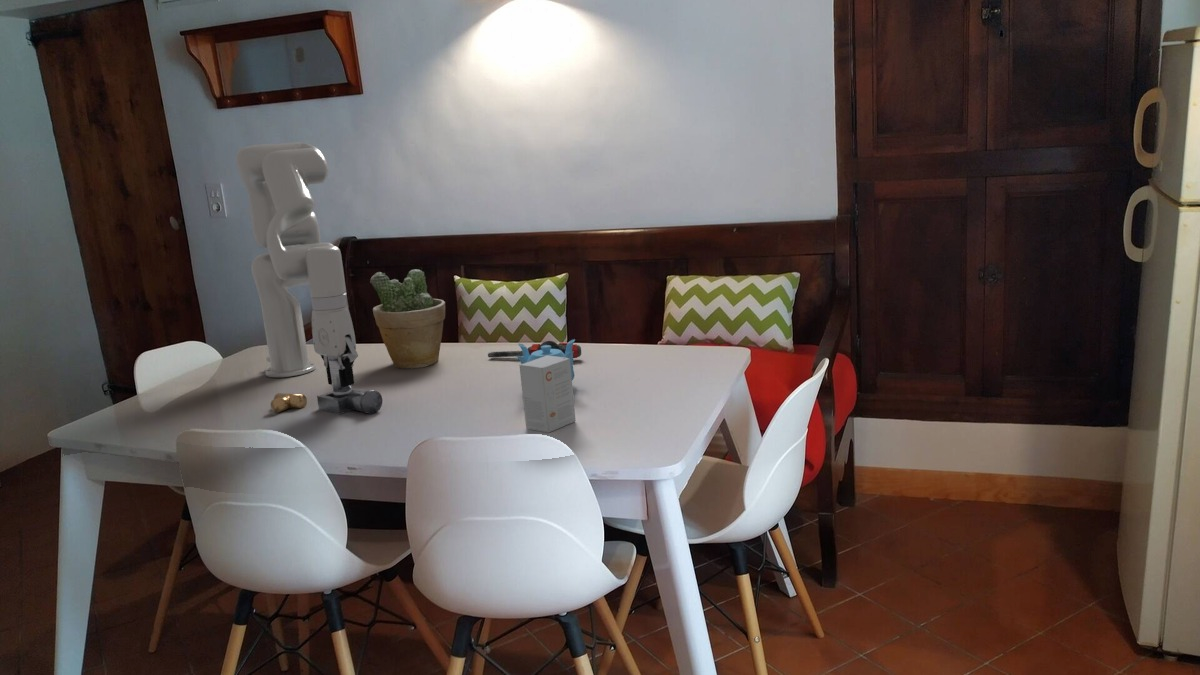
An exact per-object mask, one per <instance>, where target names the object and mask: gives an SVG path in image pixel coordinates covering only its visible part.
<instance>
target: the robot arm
mask: <svg viewBox="0 0 1200 675" xmlns="http://www.w3.org/2000/svg"><path fill="white" fill-rule="evenodd" d="M235 157H236V158H235V159H236V160H235V162H236V168H237V171H238V174H239V177H240V179H241V181H242V183H243V185H244V187H245V189H246V191H247V194H248V197H249V198H248V199H249V200H248V201H249V207H250V209H249V210H250V217H251V222H252V225H251V226H252V232H253V237H254V240H255V242H256V244H257V245H258V246H259V247H262V248H267V251H268V252H265V253H261V254H259V255H257V256H256V257H255V258H254V259H252V262H251V266H250V267H251V268H250V269H251V274H252V277H253V281H254V283H255V287H256V291H257V294H258V298H259V301H260V307H261V312H262V313H261V314H262V319H263V325H264V333H265V338H266V345H267V350H268V351H267V352H268V356H267V357H266V362H267V363H268V362H269V364H270V367H268V368H266V369H265V375H266V377H268V378H289V377H294V376H295V377H296V376H301V375H304V374H307V373H311V372H312V371H314V370H315V369H316V363H315V362H312V361H309V356H308V348H307V341H306V335H305V328H304V322H303V314H302V309H301V308H302V307H301V304H300V302H299V300H298V299H297V297H295V296H294V295H293V294H292V293H290V292H289V290H288V289H290V288H293V287H300V286H307V285H308V286H309V295H310V300H311V307H312V310H311V334H312V343H313V349H314V352H315V353H316V354H318V355H320V357H321V359H322V360H323V366H324V367H325V370H326V376H327V384H328V385H330V386H332V380H331V373H330V366H329V360H328V356H332V357H337V358H338V362H339V366H340V369H339V377H340V384H341V387H346V386H350V385H351V386H352V385H354V384H355V376H354V371H353V369H354V362H355V361H356V359H357V358H358V357H359V354H358V352H357V342H356V341H357V340H356V335H355V330H354V325H353V321H352V317H351V313H350V309H349V302H348V301H349V300H348V296H347V295H348V294H347V287H346V280H345V273H344V272H345V271H344V266H343V260H342V259H343V258H342V257H343V256H342V253H341V249H340V248H339V247H338V246H337V245H334V244H332V243H331V242H321V240H322V239H321V231H320V224H319V221H318V217H317V215H316V212H314V210H315V201H314V199H313V196H312V193H311V191H310V188H309V185H317V184H323V183H325V182H326V181H327V179H328V175H329V168H328V162H327V160H326V158H325V156H324V154H323V152H322V151H321V150H320V149H318V147H317V146H314V145H311V144H310V143H307V142H302V141H295V142H282V143H281V142H280V143H264V144H256V145H255V144H254V145H249V146H245V147H242V148H241V149H239V150H238V152H237V153H236V156H235ZM344 351H346V354H344ZM341 354H342V355H341ZM343 357H347V358H345V360H344V361H343Z"/></svg>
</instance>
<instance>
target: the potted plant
mask: <svg viewBox="0 0 1200 675" xmlns="http://www.w3.org/2000/svg"><path fill="white" fill-rule="evenodd" d="M426 277H427V276H425V271H422V270H421V269H411V270H410V271H408V273H407V275H406V277H405V278H404V279H403V282H402V283H401V282H399V279H396V278H394V279H391V280H390V278H389V276H388V275H386V273H385V272H381V271H378V272H375V273H374V274H373V275H372V276H371V278H370V281H369V283H370V284H371V285H372V286H373V289H374V290H375V291H376V292H377V295H378V298H379V299H380V304H379V305H376V306H373V308H372V312H373V317H374V318H375V324H376V326H377V327H378V328H379V332H380V335H381V338H382V341H383V344H384V346H385V348H386V351H387V353H388V355H389V357H390V360H391V361H392V363H393V365H394V366H395V368H397V367H398V369H403V368H411V369H419V367H421V368H424V367H425V368H426V367H428V366H432V365H434V364H436V363H438V361H439V359H440V353H441V352H440V350H441V343H442V338H443V328H444V320H445V319H446V301H444V299H441V298H440V299H439V298H434V297H433V296H432V295H430V293H428V291H427V290H428V285H427V283H426Z"/></svg>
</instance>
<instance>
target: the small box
mask: <svg viewBox="0 0 1200 675" xmlns="http://www.w3.org/2000/svg"><path fill="white" fill-rule="evenodd" d="M518 366H519V373H520V383H521V392H522V393H521V394H522V402H523V411H524V412H523V413H524V419H525V428H526V430H532V431H536V432H537V431H538V432H541V433H547V434H549V433H551V432H554V431H556V430H558V429H560V428H563V427H565V426H568V425H570V424H572V423H575V422H576V411H575V400H574V390H573V388H574V387H573V380H572V376H571V365H570V359H569V358H564V357H557V356H544V357H541V358H538V359H535V360H533V361H530V362H527V363H524V364H521V363H520V364H519V365H518Z"/></svg>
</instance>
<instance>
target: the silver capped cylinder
mask: <svg viewBox="0 0 1200 675" xmlns="http://www.w3.org/2000/svg"><path fill="white" fill-rule="evenodd" d="M344 354H346V351H344ZM341 355H342V354H341ZM345 358H347V357H343V361H344V360H345ZM328 360H329V366H330V373H331V380H332V385H331V386H332V391H333V397H334V398H343V397H346V396H348V395H349V393H351V392H353V391H352V388H353V387H352V385H350V386H346V387H341V384H340V377H339V369H340V366H339V362H338V358H337V357H332V356H328Z"/></svg>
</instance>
